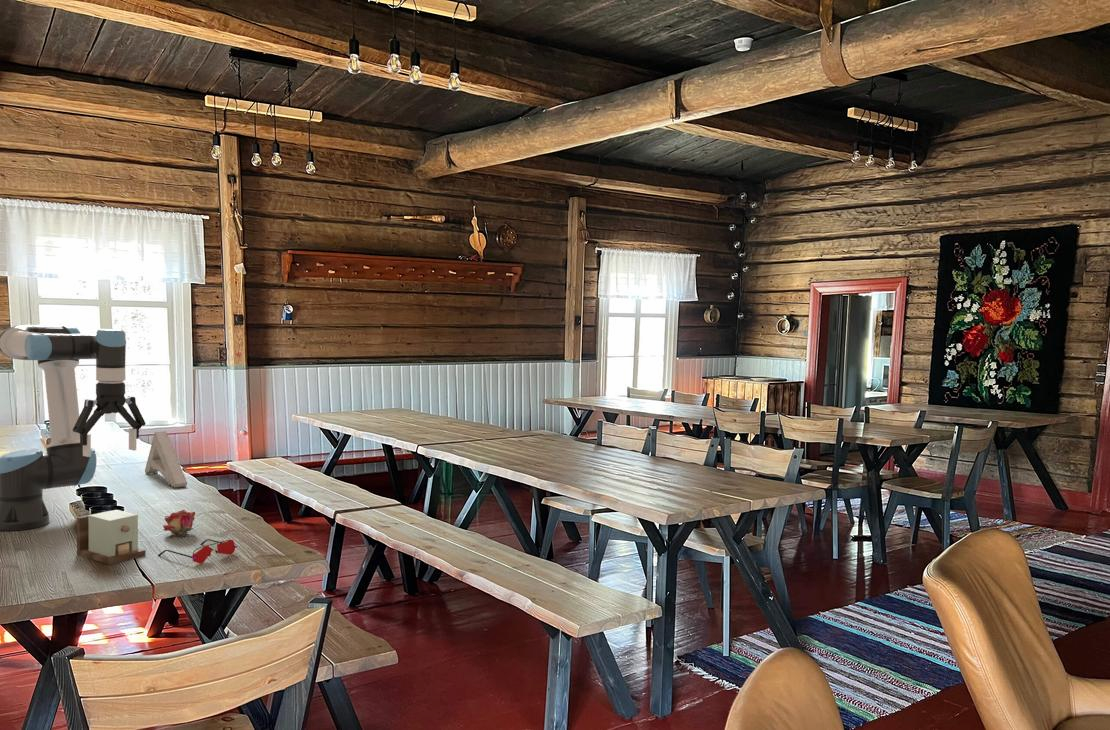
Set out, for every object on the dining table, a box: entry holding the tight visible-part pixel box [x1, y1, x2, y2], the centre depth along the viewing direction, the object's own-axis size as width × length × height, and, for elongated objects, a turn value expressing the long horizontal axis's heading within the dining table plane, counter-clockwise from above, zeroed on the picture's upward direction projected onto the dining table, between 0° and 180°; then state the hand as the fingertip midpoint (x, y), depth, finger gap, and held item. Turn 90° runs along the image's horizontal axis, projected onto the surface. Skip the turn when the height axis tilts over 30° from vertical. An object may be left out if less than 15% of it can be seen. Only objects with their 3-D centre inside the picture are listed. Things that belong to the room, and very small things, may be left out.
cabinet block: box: [87, 509, 139, 557], centre depth 217 cm, size 11×8×10 cm
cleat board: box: [76, 510, 146, 565], centre depth 218 cm, size 16×10×10 cm, turn 60°
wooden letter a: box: [144, 431, 188, 489], centre depth 316 cm, size 22×4×30 cm
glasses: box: [157, 538, 238, 565], centre depth 221 cm, size 14×16×5 cm
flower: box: [162, 509, 199, 538], centre depth 239 cm, size 10×9×8 cm
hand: (110, 453), depth 230 cm, fingers open, 13 cm apart
